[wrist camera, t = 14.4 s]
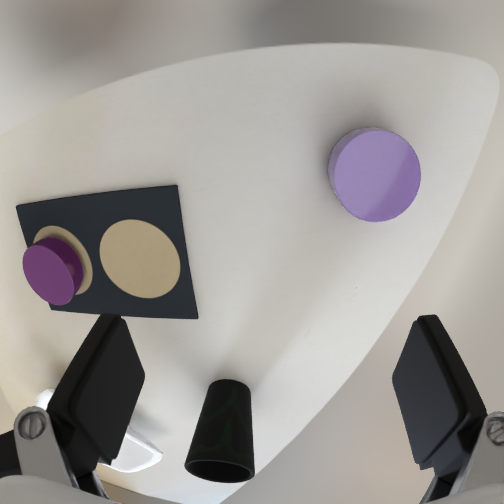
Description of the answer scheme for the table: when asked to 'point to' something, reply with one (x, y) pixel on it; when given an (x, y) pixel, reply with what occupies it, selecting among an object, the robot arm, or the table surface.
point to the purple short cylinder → (53, 270)
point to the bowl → (132, 449)
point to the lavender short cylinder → (374, 174)
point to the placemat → (121, 250)
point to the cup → (223, 435)
